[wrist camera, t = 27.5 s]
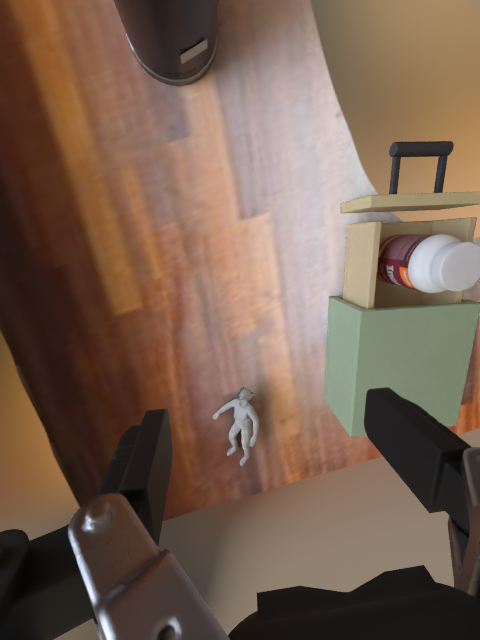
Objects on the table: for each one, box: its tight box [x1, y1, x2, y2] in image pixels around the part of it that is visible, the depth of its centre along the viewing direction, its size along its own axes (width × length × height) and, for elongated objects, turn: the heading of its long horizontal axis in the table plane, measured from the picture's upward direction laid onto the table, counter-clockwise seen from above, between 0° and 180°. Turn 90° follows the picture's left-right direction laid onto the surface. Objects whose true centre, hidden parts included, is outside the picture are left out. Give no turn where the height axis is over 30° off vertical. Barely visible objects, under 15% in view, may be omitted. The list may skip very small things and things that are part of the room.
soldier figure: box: [213, 387, 259, 466], centre depth 42 cm, size 8×5×12 cm
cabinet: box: [324, 296, 480, 438], centre depth 39 cm, size 17×15×9 cm
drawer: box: [341, 141, 480, 310], centre depth 34 cm, size 21×14×7 cm, turn 3°
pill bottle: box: [377, 234, 480, 293], centre depth 32 cm, size 6×6×11 cm
